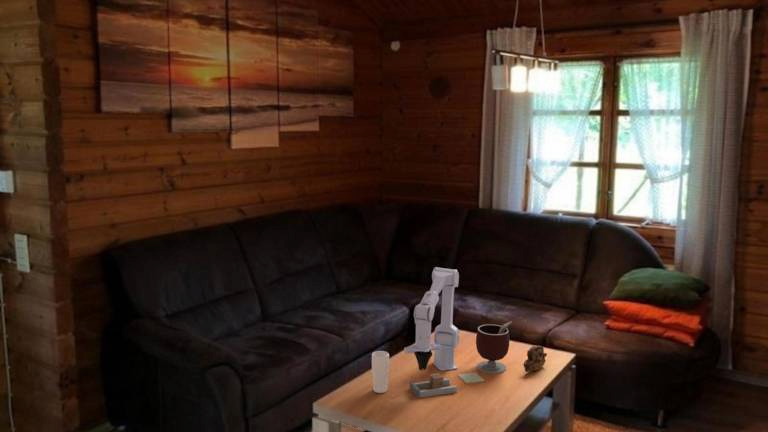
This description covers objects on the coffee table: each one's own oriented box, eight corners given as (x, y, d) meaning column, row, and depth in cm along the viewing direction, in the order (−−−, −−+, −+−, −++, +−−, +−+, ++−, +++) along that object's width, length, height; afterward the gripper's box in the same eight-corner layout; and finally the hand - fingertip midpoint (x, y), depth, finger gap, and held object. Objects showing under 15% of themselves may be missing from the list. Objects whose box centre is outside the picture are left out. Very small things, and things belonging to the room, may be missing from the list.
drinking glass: (391, 388, 246) (391, 352, 244) (385, 395, 240) (386, 358, 238) (374, 385, 249) (375, 349, 246) (368, 392, 242) (369, 355, 240)
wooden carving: (532, 377, 259) (533, 354, 257) (522, 374, 262) (523, 351, 260) (548, 365, 272) (549, 342, 270) (538, 362, 274) (539, 340, 273)
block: (429, 388, 247) (429, 374, 246) (438, 387, 248) (439, 373, 247) (433, 393, 243) (433, 378, 242) (442, 391, 244) (443, 377, 243)
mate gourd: (483, 376, 259) (485, 329, 256) (469, 363, 272) (471, 318, 269) (517, 372, 263) (519, 326, 260) (502, 359, 276) (504, 316, 273)
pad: (457, 375, 259) (457, 374, 259) (475, 373, 262) (475, 372, 262) (466, 383, 252) (466, 382, 252) (484, 381, 254) (484, 380, 254)
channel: (409, 389, 246) (409, 381, 246) (448, 383, 251) (448, 376, 251) (417, 397, 239) (417, 389, 238) (456, 392, 244) (457, 384, 243)
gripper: (409, 341, 234) (408, 375, 236) (445, 337, 238) (444, 371, 241) (402, 334, 240) (401, 368, 243) (437, 330, 245) (436, 364, 247)
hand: (422, 369), depth 242 cm, fingers closed
